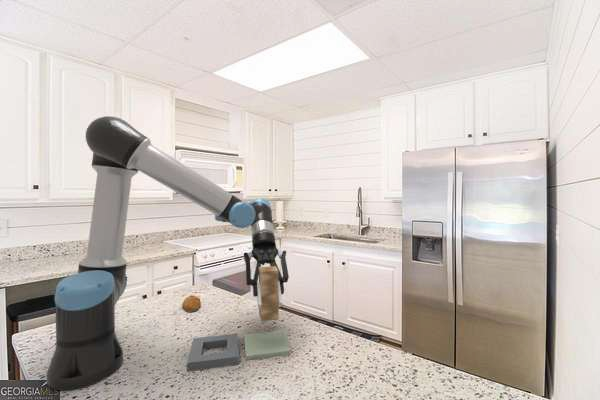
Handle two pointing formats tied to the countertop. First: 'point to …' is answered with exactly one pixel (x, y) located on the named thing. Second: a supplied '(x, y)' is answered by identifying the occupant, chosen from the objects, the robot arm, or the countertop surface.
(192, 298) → the pastry
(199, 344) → the pocket frame
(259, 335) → the rubber pad
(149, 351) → the countertop surface
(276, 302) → the oak peg
